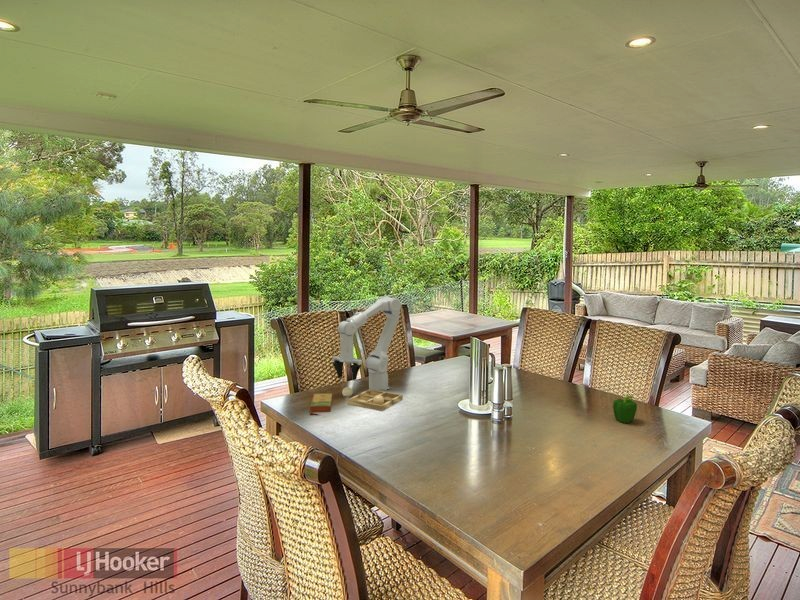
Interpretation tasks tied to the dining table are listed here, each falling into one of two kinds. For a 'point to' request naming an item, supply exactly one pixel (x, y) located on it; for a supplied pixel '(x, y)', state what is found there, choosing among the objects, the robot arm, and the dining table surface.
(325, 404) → the carton
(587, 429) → the dining table surface
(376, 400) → the tan ball
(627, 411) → the bell pepper
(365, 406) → the egg rack
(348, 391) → the white egg
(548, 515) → the dining table surface
